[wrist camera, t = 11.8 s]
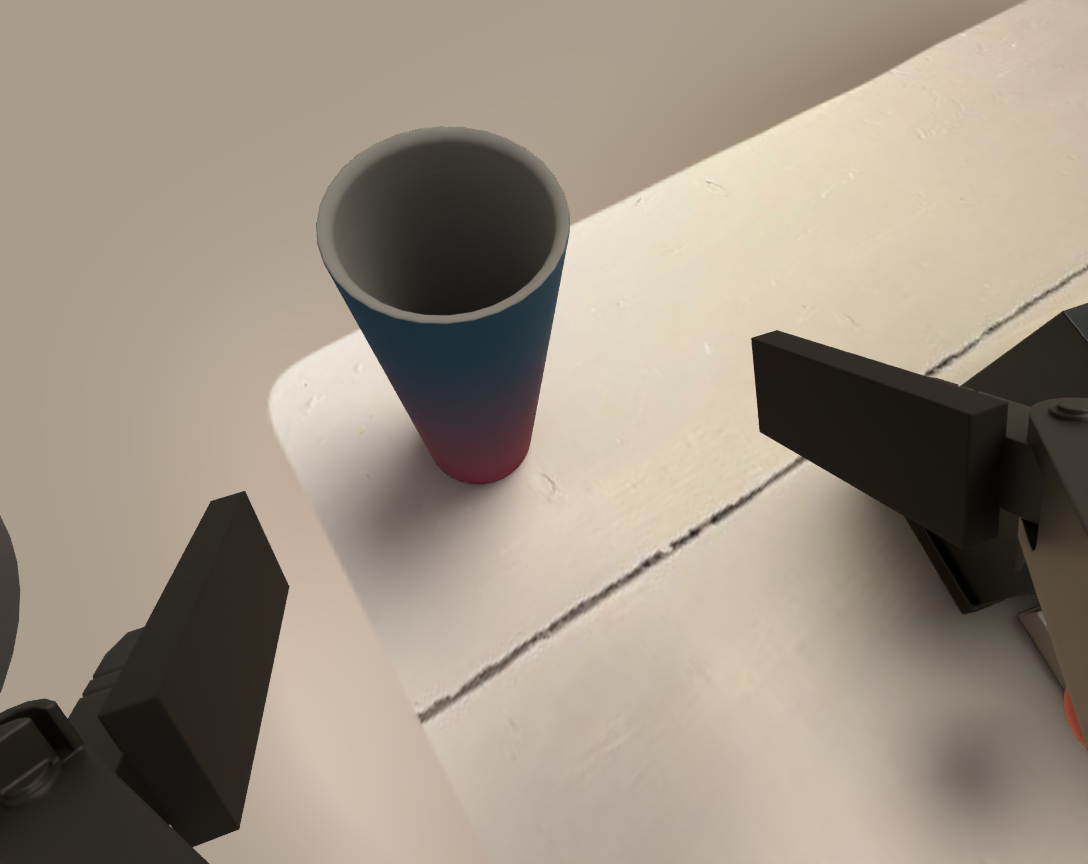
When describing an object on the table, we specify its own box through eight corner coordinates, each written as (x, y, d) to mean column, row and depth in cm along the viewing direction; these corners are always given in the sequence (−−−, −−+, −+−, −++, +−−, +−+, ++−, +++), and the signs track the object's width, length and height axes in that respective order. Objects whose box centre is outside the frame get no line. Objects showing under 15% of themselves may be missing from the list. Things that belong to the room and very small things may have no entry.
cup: (555, 496, 30) (583, 315, 16) (409, 508, 29) (308, 331, 15) (542, 370, 32) (557, 120, 18) (409, 378, 32) (321, 130, 18)
